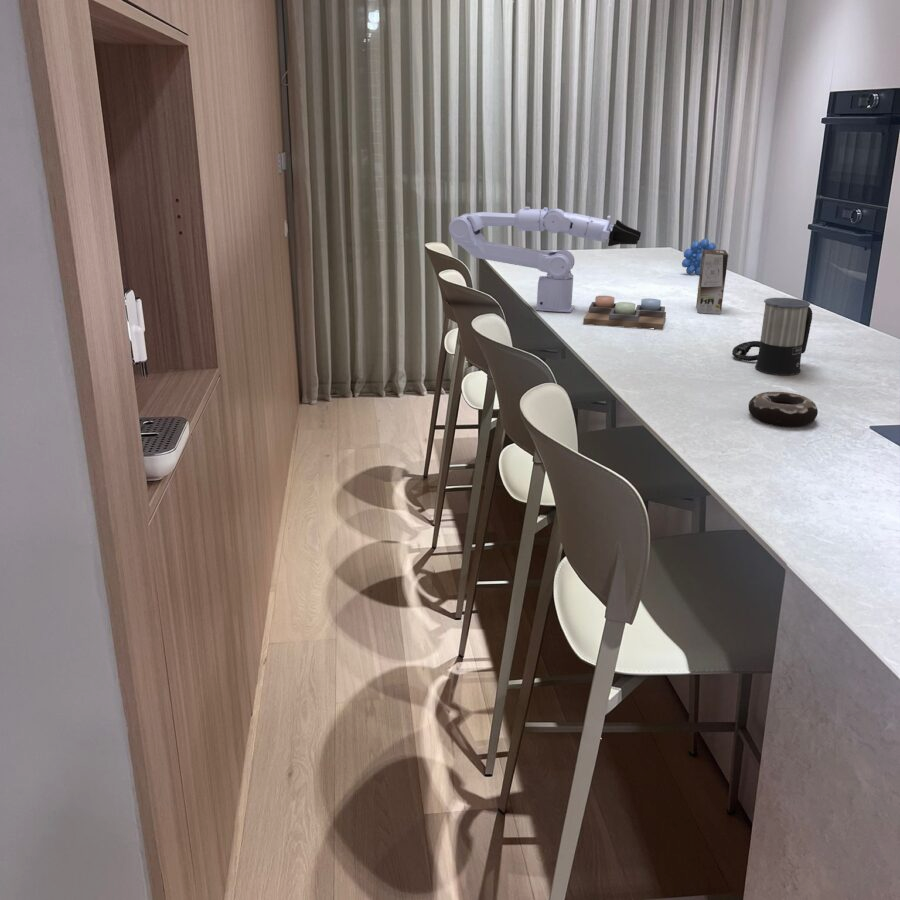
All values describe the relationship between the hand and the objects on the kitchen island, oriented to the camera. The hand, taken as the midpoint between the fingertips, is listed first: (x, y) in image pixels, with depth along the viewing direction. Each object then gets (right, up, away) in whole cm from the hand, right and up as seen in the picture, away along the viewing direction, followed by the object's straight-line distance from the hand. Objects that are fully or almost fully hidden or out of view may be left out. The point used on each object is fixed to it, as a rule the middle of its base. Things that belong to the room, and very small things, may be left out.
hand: (639, 238), depth 233 cm
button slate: (+3, -19, +1) cm, 19 cm away
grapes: (+34, +4, +67) cm, 76 cm away
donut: (+10, -50, -73) cm, 89 cm away
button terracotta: (-8, -17, +4) cm, 20 cm away
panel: (-4, -22, 0) cm, 22 cm away
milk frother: (+19, -37, -39) cm, 57 cm away
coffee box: (+22, -17, +13) cm, 31 cm away
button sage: (-5, -20, -4) cm, 21 cm away
